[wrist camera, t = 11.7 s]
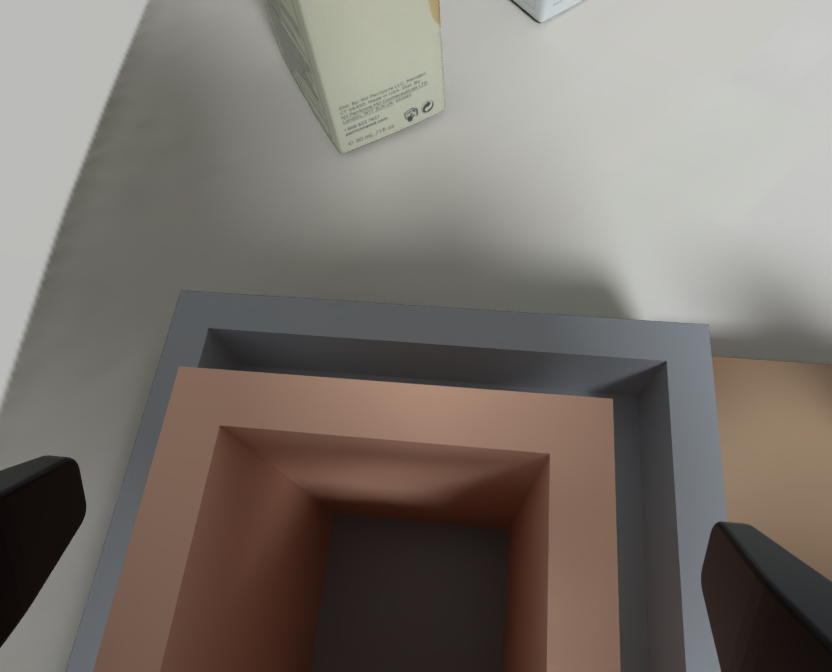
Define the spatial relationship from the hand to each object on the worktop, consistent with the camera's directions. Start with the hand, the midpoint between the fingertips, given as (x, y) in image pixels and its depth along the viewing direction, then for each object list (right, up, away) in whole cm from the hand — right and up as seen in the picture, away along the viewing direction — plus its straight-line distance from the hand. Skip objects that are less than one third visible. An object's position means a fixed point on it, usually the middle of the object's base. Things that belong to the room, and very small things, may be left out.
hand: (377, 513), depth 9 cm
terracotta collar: (0, -4, +6) cm, 7 cm away
